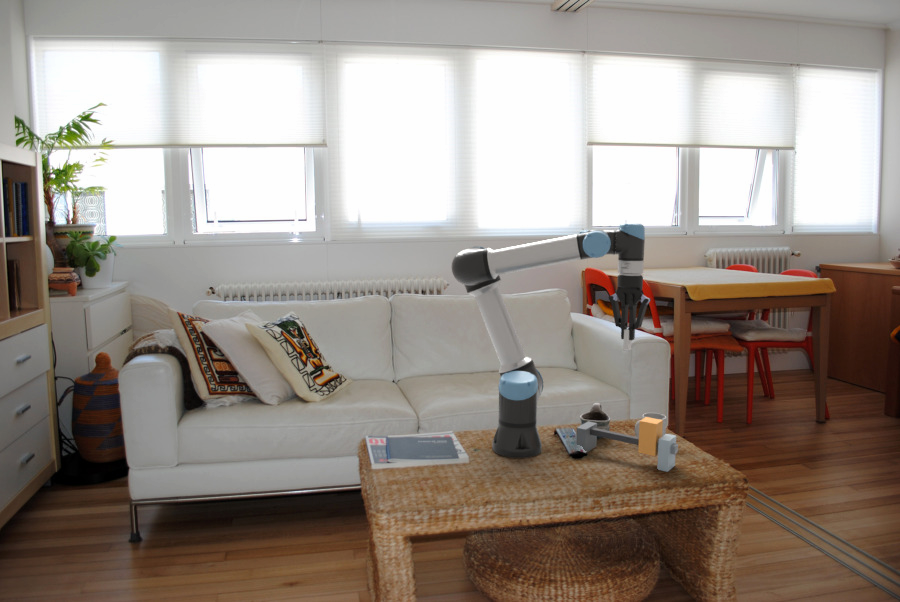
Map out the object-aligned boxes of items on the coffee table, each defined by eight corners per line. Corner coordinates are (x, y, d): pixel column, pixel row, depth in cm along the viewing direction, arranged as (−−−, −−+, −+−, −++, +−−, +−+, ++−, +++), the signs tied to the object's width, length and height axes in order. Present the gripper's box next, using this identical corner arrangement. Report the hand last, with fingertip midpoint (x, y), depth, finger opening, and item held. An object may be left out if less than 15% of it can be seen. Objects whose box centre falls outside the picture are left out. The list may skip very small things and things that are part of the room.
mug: (579, 441, 213) (580, 410, 211) (578, 428, 225) (579, 400, 223) (610, 443, 211) (611, 412, 210) (607, 430, 223) (608, 401, 222)
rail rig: (575, 451, 203) (576, 422, 202) (587, 444, 210) (588, 416, 208) (670, 474, 186) (672, 443, 185) (680, 465, 192) (681, 435, 191)
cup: (669, 446, 208) (670, 419, 207) (638, 448, 207) (640, 420, 205) (658, 438, 215) (659, 412, 214) (629, 440, 214) (630, 413, 212)
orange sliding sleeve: (638, 452, 193) (639, 420, 191) (644, 447, 196) (646, 416, 195) (655, 456, 190) (656, 424, 188) (661, 451, 193) (662, 420, 192)
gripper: (605, 273, 204) (602, 349, 207) (646, 276, 196) (643, 354, 199) (615, 272, 210) (612, 345, 213) (655, 274, 202) (652, 350, 205)
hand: (627, 349), depth 206 cm, fingers closed
